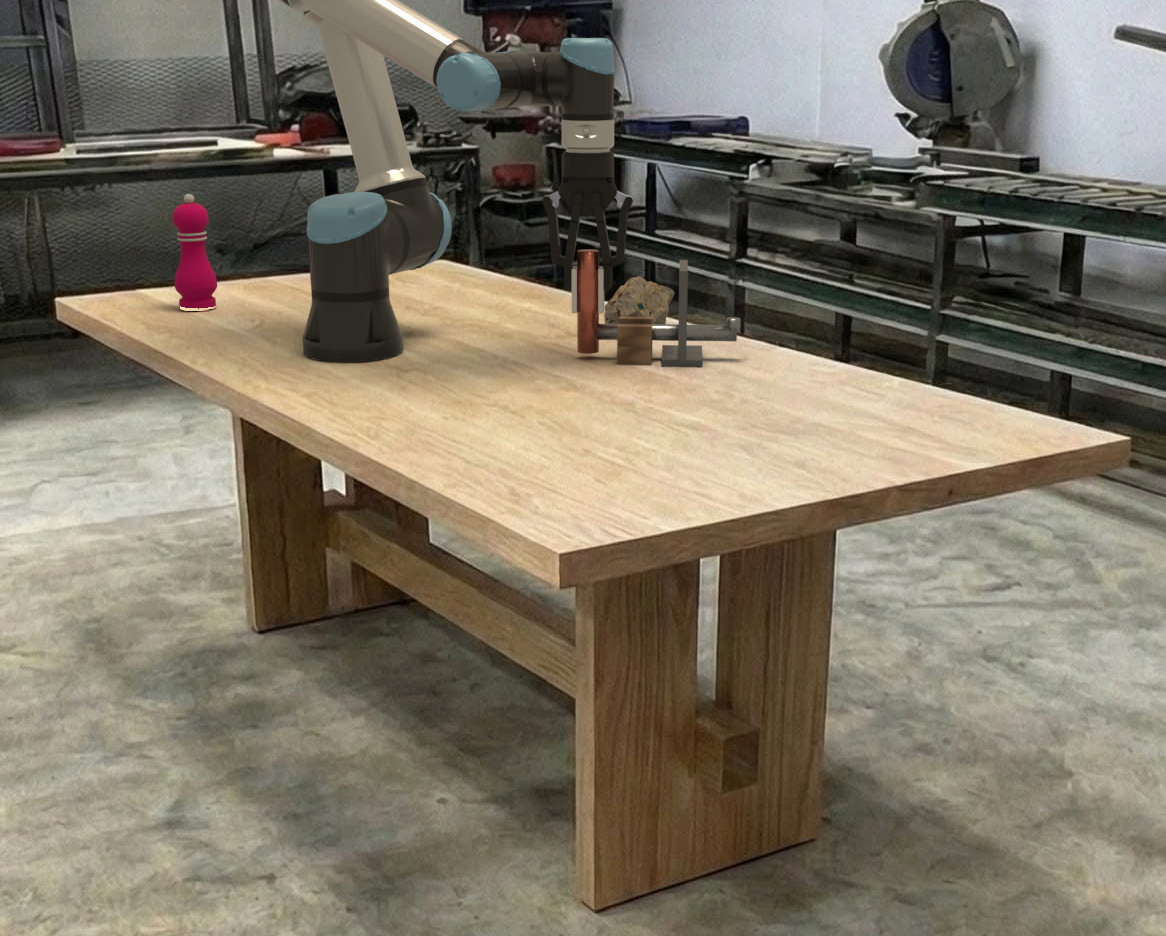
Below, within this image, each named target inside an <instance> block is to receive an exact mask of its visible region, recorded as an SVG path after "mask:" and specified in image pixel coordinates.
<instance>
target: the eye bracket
mask: <svg viewBox="0 0 1166 936" xmlns="http://www.w3.org/2000/svg"><path fill="white" fill-rule="evenodd" d="M688 260H689V259H680V260H679V268H678V269H679V273H678V274H679V277H678V278H679V282H678V285H679V286H678V325H679V327H678V342H677V345H676V344H673V345H672V344H662V346H661V347H662V348H661V364H660V365H661V367H667V368H668V367H671V368H673V367H674V368H675V367H676V368H677V367H679V368H682V367H683V368H687V367H688V368H691V367H692V368H703V367H704V366H703V364H704V363H703V361H704V360H703V359H704V358H703V345H691V344H689V345H688V344H687V343H688V341H687V325H688V292H689V291H688V290H689V289H688V288H689V287H688V286H689V285H688V284H689V282H688V281H689V262H688Z"/></svg>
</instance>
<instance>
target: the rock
mask: <svg viewBox="0 0 1166 936" xmlns="http://www.w3.org/2000/svg"><path fill="white" fill-rule="evenodd" d="M675 294H676V293H675V291H674V290H673V289H672V288H670V287H668V286H665V285H660V284H658V283H657V282H653V281H647V280H646V279H645V278H644V277H643V276H640V275H639V276H636V277H630V278H629V279H628V280H627V281H626V282H625V283H624V285H620V286H619V288H618V289H617V290H616V292H615V293H614V295H613V296H612V298H611V299H609V301H608V302H607V303H606V304H604V313H603V314H604V315H603V317H604V324H619V316H632V317H653V324H666V323H667V317H668V314H669V311H670V307H669V305H670V303H671V302H672V300H673V298H674V295H675Z"/></svg>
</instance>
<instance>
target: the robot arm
mask: <svg viewBox="0 0 1166 936" xmlns="http://www.w3.org/2000/svg"><path fill="white" fill-rule="evenodd" d="M279 1H280V2H282V3H284V4H285V5H287V6H288V7H290V8H292V9H293V10H295V11H297V12H300V13H303V16H304V19H305V20H306V21H307V22H309V23H310V24H312V25H314V26H315V27H316V28H317V29H318V33H319V36H320V40H321V43H322V48H323V51H324V54H325V59H326V62H327V66H328V68H329V70H328V71H329V73H330V76H331V80H332V85H333V88H334V91H335V96H336V99H337V103H338V106H339V107H338V108H339V110H340V113H341V117H342V121H343V124H344V128H345V131H346V135H347V138H348V139H347V140H348V143H349V147H350V149H351V154H352V156H353V157H352V158H353V161H354V165H355V169H356V172H357V175H358V179H359V182H358V184H357V187H355V190H354V191H351V192H345V193H342V194H340V193H335V194H331V195H327V196H324V197H321V198H318V199H317V200H315V201H313V203H311V204H310V205H309V207H308V210H307V226H306V230H305V231H306V236H307V245H308V246H307V247H308V249H307V250H308V259H309V261H308V263H309V277H310V291H311V292H310V293H311V306H310V308H309V313H308V316H307V320H306V324H305V329H304V331H303V336H302V354H303V355H304V356H305V357H306V356H307V358H309V357H310V358H309V359H312V358H313V360H316V359H317V361H322V360H323V362H337V363H352V362H353V363H355V362H370V361H377V360H384V359H387V358H392V357H395V356H398V355H399V354H401V353H402V352H403V351H404V337H403V333H402V330H401V328H400V326H399V322H398V320H397V317H396V314H395V311H394V308H393V306H392V304H391V303H392V302H391V300H390V299H391V297H390V277H389V275H394V274H398V273H402V272H406V271H414V270H417V269H421V268H423V267H426V266H427V265H430V264H432V263H434V262H436V261H437V260H438V259H440V257H441V256H443V254H444V253H445V251H446V249H447V247H448V246H449V242H450V241H451V236H452V229H453V228H452V227H453V226H452V217H451V213H450V212H449V209H448V206H447V205H446V203H445V202H444V201H443V200H442V199H440V198H438V196H437V195H436V194H435V193H433V192H430V189H429V184H428V181H427V177H426V176H425V175H424V174H423V173H421V172H420V171H418V170H416V169H415V168H414V166H413V164H412V162H413V161H412V160H411V155H410V151H409V148H408V144H407V141H406V137H405V133H404V130H403V124H402V122H401V118H400V114H399V110H398V106H397V103H396V99H395V95H394V91H393V88H392V85H391V80H390V76H389V73H388V69H387V65H386V61H385V58H384V57H386V58H388V59H389V60H390V61H392V62H394V63H395V64H397V65H399V66H400V67H402V68H404V69H405V70H407V71H408V72H410V73H412V74H413V75H415V76H417V77H418V78H420V79H421V80H423V81H425V82H426V83H428V84H429V85H431V86H432V87H435V88H436V89H437V91H438V94H439V96H440V98H441V99H442V101H443V102H444V104H445V105H447V106H448V107H449V108H451V109H453V110H455V111H459V112H467V113H477V112H482V111H486V110H487V111H488V110H495V109H507V108H519V107H560V110H561V147H563V148H564V149H565V151H563V152H562V153H561V182H560V185H559V187H558V191H554V192H553V193H550V194H545V195H544V197H542V200H541V202H542V204H543V207H544V208H545V211H546V213H547V214H546V215H547V223H548V225H547V226H548V234H549V235H548V236H549V237H548V238H549V247H550V257H551V262H552V264H554V265H558V266H561V267H562V268H563V287H564V290H567V291H569V290H570V291H571V314H577V265H576V266H575V265H574V258H575V254H576V246H577V239H578V233H579V226H580V222H581V217H583V216H590V217H591V216H592V217H594V218H595V223H596V228H597V235H598V243H599V247H600V248H599V249H600V254H601V255H600V256H601V261H602V266H600V265H599V269H598V313H599V314H605V291H610V290H611V288H612V286H613V268H614V267H616V266H620V265H622V264H623V263H624V261H625V253H626V241H627V232H628V231H627V230H628V229H627V228H628V218H629V212H630V209H631V207H632V205H633V202H634V197H633V196H632V195H630V194H625V193H623V192H621V191H619V190H618V187H617V185H616V183H615V153H613V151H612V150H611V149H613V147H614V146H615V119H614V117H615V112H614V110H615V109H614V105H615V104H614V101H615V100H614V97H615V75H616V69H615V60H614V59H615V58H614V57H615V56H614V54H615V53H614V44H613V43H612V41H611V40H610V39H608V38H605V37H604V38H603V37H589V38H587V37H566V38H564V39H563V40H562V41H561V44H560V49H559V51H555V52H543V51H542V52H539V51H538V52H537V51H519V50H518V51H517V50H513V51H512V50H511V51H509V50H507V51H502V52H501V51H500V52H499V51H498V52H489V53H488V52H485V51H483V50H482V49H480V48H478V47H477V46H474V45H473V44H471V43H470V42H468V41H466V40H464V39H463V38H462V37H459V36H458V35H456V34H455V33H453V32H451V31H450V30H448V29H446V28H445V27H443V26H441V25H440V24H438V23H436V22H435V21H433V20H431V19H430V18H428V17H426V16H425V15H423V14H422V13H420V12H418V11H417V10H415V9H413V8H411V7H410V6H408V5H406V4H404V3H403V2H401V1H400V0H279ZM560 199H561V200H562V201H563V203H564V204H565V205H566V207H567V208H568V209H569V211H570V212H571V214H570V222H569V228H568V233H567V241H566V247H565V254H564V255H562V254H561V253H562V252H561V241H560V233H559V232H560V229H559V218H558V211H557V208H558V207H559V206H560ZM614 199H616V207H617V208H618V209H620V210H619V214H618V227H617V235H616V238H617V239H616V250H615V255H614V256H612V253H611V252H612V251H611V246H610V240H609V235H608V228H607V227H608V226H607V223H606V213H605V212H606V210H607V208H609V206H610V204H611V203H612V202H613V201H614Z"/></svg>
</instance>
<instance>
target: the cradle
mask: <svg viewBox="0 0 1166 936" xmlns="http://www.w3.org/2000/svg"><path fill="white" fill-rule="evenodd" d="M652 324H653V317H632V316H619V324H618V326H617V340H616V342H617V343H616V344H617V345H616V349H617V350H616V365H630V366H632V365H637V366H639V365H641V366H642V365H644V366H645V365H646V366H651V365H652V360H653V340H652Z"/></svg>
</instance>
